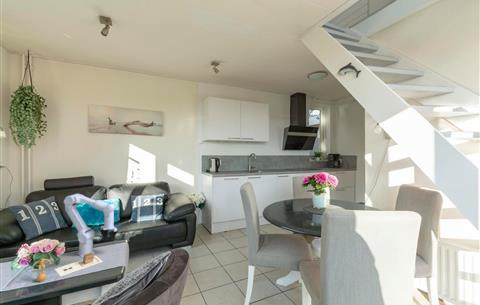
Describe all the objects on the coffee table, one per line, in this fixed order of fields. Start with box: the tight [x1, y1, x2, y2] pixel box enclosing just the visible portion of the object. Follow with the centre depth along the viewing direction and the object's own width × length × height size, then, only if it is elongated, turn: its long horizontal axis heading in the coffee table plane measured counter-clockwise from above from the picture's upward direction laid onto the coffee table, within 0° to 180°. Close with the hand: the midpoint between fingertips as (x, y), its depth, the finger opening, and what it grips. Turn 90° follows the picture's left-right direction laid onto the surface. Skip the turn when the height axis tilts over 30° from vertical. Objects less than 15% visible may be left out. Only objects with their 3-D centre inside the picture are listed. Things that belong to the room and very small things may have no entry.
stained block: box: [82, 253, 95, 265], centre depth 138 cm, size 4×4×5 cm
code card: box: [54, 255, 104, 277], centre depth 134 cm, size 13×22×1 cm, turn 142°
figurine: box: [31, 257, 52, 282], centre depth 119 cm, size 8×6×12 cm
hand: (108, 239), depth 152 cm, fingers open, 7 cm apart
